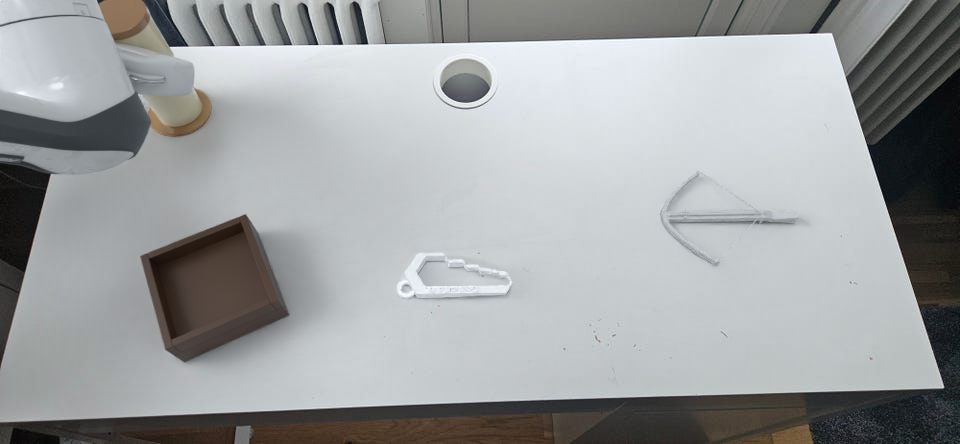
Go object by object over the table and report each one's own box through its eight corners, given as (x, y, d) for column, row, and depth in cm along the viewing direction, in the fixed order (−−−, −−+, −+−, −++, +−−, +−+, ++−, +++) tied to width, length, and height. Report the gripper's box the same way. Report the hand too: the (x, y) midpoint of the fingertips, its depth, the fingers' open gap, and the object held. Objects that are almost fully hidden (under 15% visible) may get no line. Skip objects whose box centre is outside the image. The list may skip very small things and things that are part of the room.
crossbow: (667, 268, 70) (671, 261, 68) (652, 178, 76) (656, 169, 74) (806, 266, 69) (813, 259, 67) (780, 176, 75) (786, 166, 73)
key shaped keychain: (510, 257, 69) (511, 251, 68) (512, 297, 67) (513, 291, 65) (398, 259, 69) (397, 252, 67) (396, 299, 66) (395, 293, 65)
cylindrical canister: (212, 107, 79) (157, 11, 65) (175, 135, 76) (110, 42, 62) (184, 85, 80) (124, -13, 66) (147, 112, 78) (77, 16, 64)
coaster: (156, 144, 76) (155, 143, 76) (143, 101, 79) (141, 99, 79) (218, 122, 78) (217, 121, 78) (202, 81, 81) (201, 79, 81)
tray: (184, 362, 63) (164, 349, 59) (158, 272, 67) (139, 255, 64) (289, 315, 65) (278, 300, 61) (258, 232, 70) (245, 213, 66)
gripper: (140, 48, 55) (231, 53, 69) (-39, -3, 58) (81, 10, 71) (135, 114, 57) (224, 106, 70) (-38, 61, 60) (79, 62, 73)
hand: (151, 57), depth 71 cm, fingers closed on cylindrical canister, 6 cm apart
